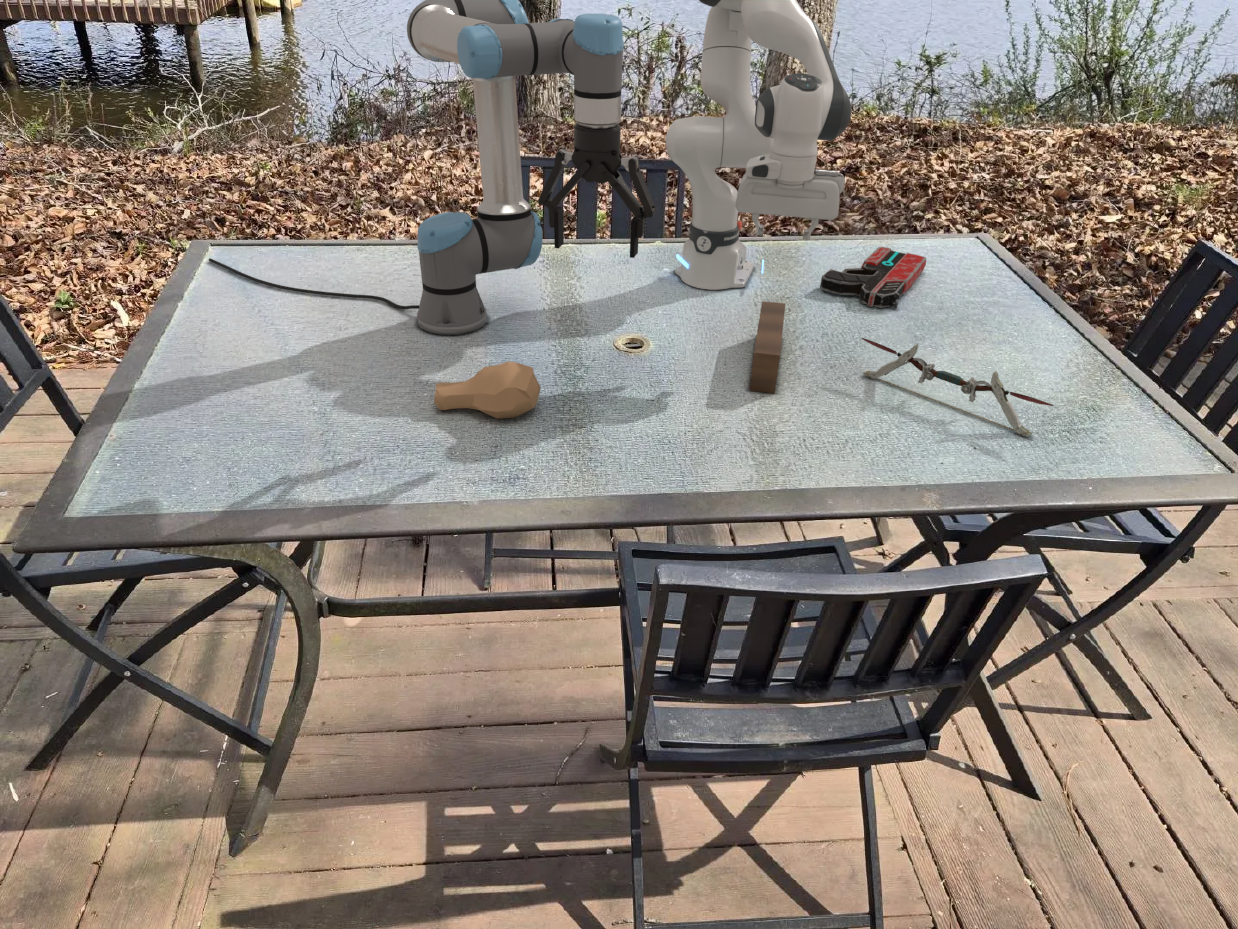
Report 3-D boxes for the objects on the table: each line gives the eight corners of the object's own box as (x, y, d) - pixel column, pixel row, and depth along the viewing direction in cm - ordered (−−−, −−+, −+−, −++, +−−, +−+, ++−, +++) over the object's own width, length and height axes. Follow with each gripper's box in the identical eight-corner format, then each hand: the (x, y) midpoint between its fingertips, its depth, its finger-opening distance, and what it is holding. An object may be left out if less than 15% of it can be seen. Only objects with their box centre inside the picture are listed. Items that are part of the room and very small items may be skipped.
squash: (542, 425, 161) (533, 386, 155) (435, 433, 163) (423, 395, 156) (546, 387, 169) (538, 350, 163) (444, 396, 170) (432, 359, 164)
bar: (774, 393, 173) (780, 355, 168) (749, 390, 174) (753, 352, 169) (780, 338, 194) (785, 303, 189) (757, 336, 195) (762, 300, 190)
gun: (818, 277, 212) (896, 296, 205) (859, 239, 234) (931, 255, 227) (815, 294, 215) (892, 314, 207) (855, 255, 237) (927, 271, 229)
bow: (1043, 439, 161) (1060, 391, 155) (1040, 443, 160) (1056, 395, 154) (857, 369, 182) (866, 325, 177) (852, 372, 181) (861, 327, 175)
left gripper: (678, 124, 141) (670, 251, 153) (532, 111, 146) (536, 235, 158) (667, 134, 135) (660, 266, 147) (516, 120, 140) (521, 248, 152)
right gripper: (846, 166, 170) (834, 236, 178) (741, 158, 173) (734, 227, 181) (847, 175, 165) (835, 246, 173) (738, 166, 168) (731, 237, 176)
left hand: (596, 250), depth 153 cm, fingers open, 13 cm apart
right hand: (782, 236), depth 177 cm, fingers open, 8 cm apart
